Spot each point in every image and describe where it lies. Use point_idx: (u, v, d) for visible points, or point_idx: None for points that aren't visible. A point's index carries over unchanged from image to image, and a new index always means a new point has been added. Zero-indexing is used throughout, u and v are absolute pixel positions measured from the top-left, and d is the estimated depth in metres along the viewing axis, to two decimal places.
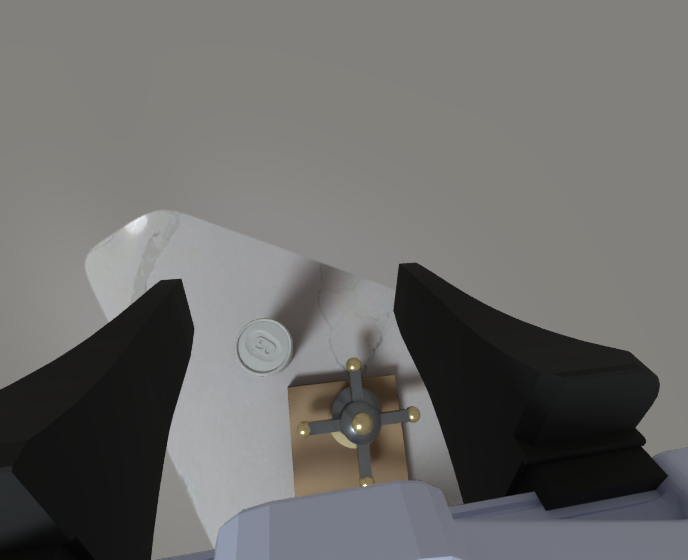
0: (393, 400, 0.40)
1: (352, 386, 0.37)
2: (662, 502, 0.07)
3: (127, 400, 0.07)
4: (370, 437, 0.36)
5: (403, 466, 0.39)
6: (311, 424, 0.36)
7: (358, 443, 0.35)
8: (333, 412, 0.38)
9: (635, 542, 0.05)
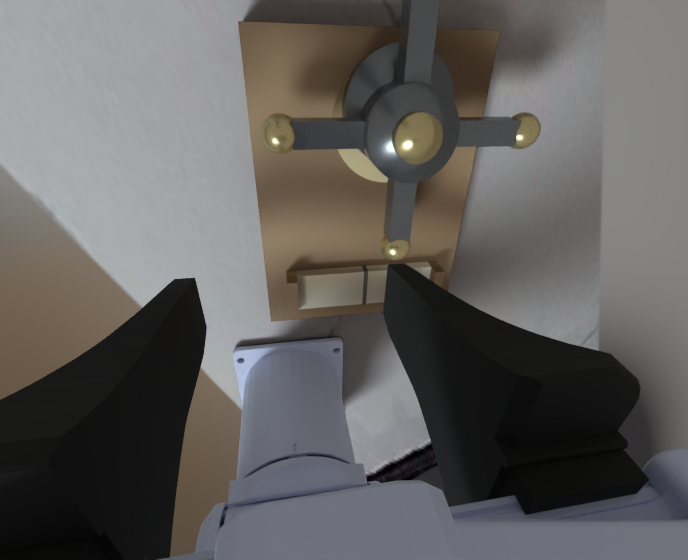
0: (477, 95, 0.18)
1: (411, 36, 0.14)
2: (662, 502, 0.07)
3: (147, 397, 0.07)
4: (426, 170, 0.16)
5: (456, 219, 0.22)
6: (297, 124, 0.15)
7: (398, 179, 0.16)
8: (349, 103, 0.16)
9: (635, 542, 0.05)
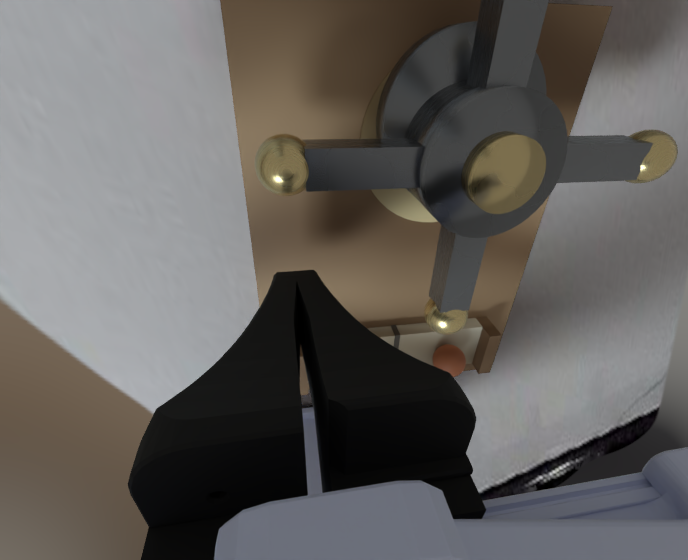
0: (567, 101, 0.13)
1: (507, 8, 0.08)
2: (662, 502, 0.07)
3: None
4: (507, 218, 0.11)
5: (518, 266, 0.16)
6: (313, 153, 0.09)
7: (465, 233, 0.11)
8: (389, 115, 0.11)
9: (635, 542, 0.05)
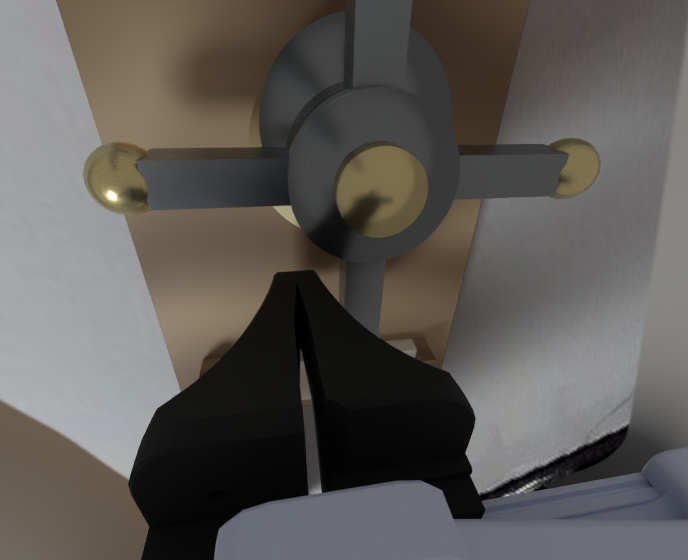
0: (489, 104, 0.11)
1: None
2: (662, 502, 0.07)
3: None
4: (400, 241, 0.09)
5: (453, 284, 0.15)
6: (148, 166, 0.08)
7: (351, 257, 0.09)
8: (264, 120, 0.09)
9: (635, 542, 0.05)
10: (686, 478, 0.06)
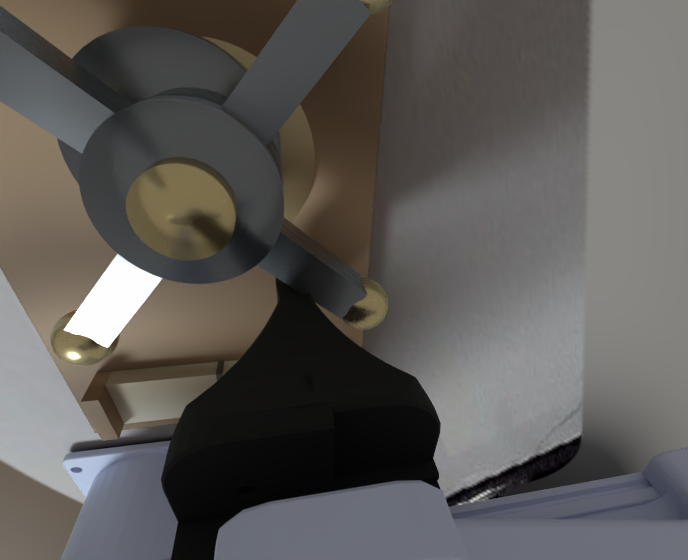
0: (364, 111, 0.11)
1: None
2: (662, 502, 0.07)
3: None
4: (264, 220, 0.08)
5: None
6: (72, 326, 0.09)
7: (246, 266, 0.09)
8: None
9: (635, 542, 0.05)
10: (686, 478, 0.06)
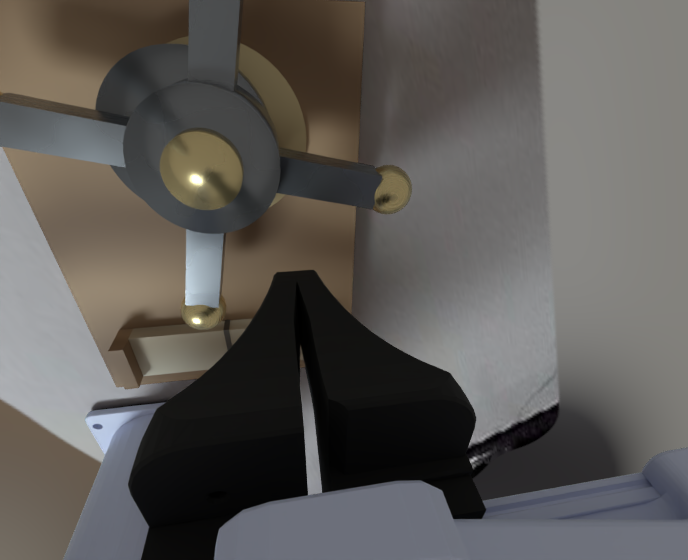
0: (346, 97, 0.13)
1: (65, 152, 0.09)
2: (662, 502, 0.07)
3: None
4: (262, 150, 0.10)
5: (345, 262, 0.17)
6: (188, 300, 0.13)
7: (270, 196, 0.11)
8: None
9: (634, 542, 0.05)
10: (686, 478, 0.06)
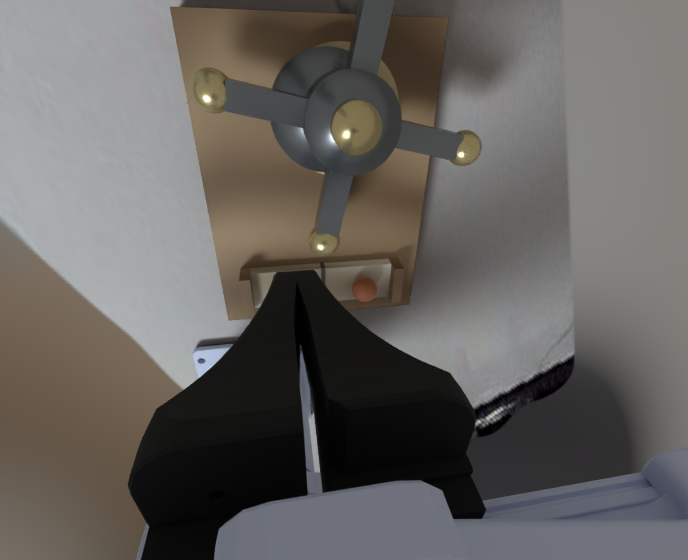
0: (429, 85, 0.18)
1: (265, 116, 0.14)
2: (662, 502, 0.07)
3: None
4: (392, 115, 0.15)
5: (415, 215, 0.21)
6: (319, 230, 0.17)
7: (391, 148, 0.15)
8: (312, 167, 0.17)
9: (635, 542, 0.05)
10: (686, 478, 0.06)
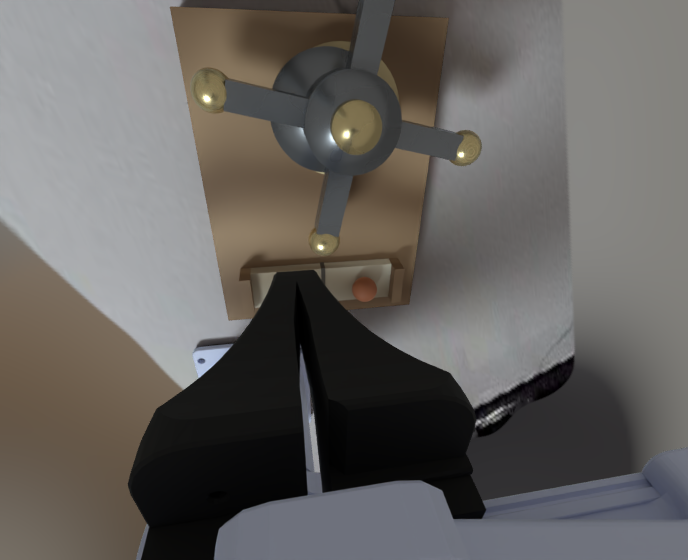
0: (429, 85, 0.18)
1: (265, 116, 0.14)
2: (662, 502, 0.07)
3: None
4: (392, 115, 0.15)
5: (415, 215, 0.21)
6: (319, 230, 0.17)
7: (391, 148, 0.15)
8: (312, 167, 0.17)
9: (635, 542, 0.05)
10: (686, 478, 0.06)
